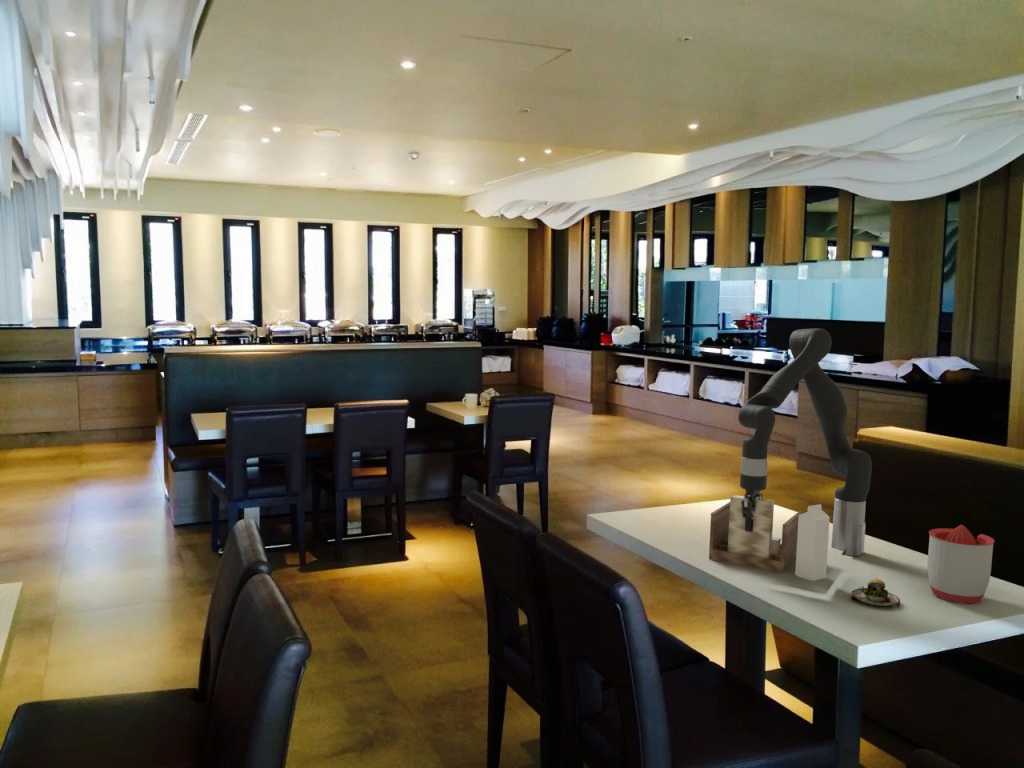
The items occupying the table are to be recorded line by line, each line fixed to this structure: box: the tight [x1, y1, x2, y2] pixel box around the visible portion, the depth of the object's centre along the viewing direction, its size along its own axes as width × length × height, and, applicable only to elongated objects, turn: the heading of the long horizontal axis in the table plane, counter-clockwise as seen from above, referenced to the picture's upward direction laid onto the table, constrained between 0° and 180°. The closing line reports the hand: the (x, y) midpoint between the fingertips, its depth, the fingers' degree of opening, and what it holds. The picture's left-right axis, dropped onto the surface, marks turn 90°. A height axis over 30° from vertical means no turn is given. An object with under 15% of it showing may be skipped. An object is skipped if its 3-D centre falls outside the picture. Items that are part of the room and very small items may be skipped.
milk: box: [794, 504, 831, 582], centre depth 230 cm, size 6×6×22 cm
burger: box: [850, 578, 901, 608], centre depth 216 cm, size 12×12×8 cm
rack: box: [708, 501, 804, 574], centre depth 247 cm, size 22×20×16 cm
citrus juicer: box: [927, 524, 995, 605], centre depth 221 cm, size 16×17×20 cm
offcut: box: [771, 536, 782, 555], centre depth 244 cm, size 5×3×7 cm, turn 57°
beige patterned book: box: [728, 494, 775, 559], centre depth 241 cm, size 12×3×18 cm, turn 57°
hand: (750, 529), depth 241 cm, fingers closed on beige patterned book, 3 cm apart
